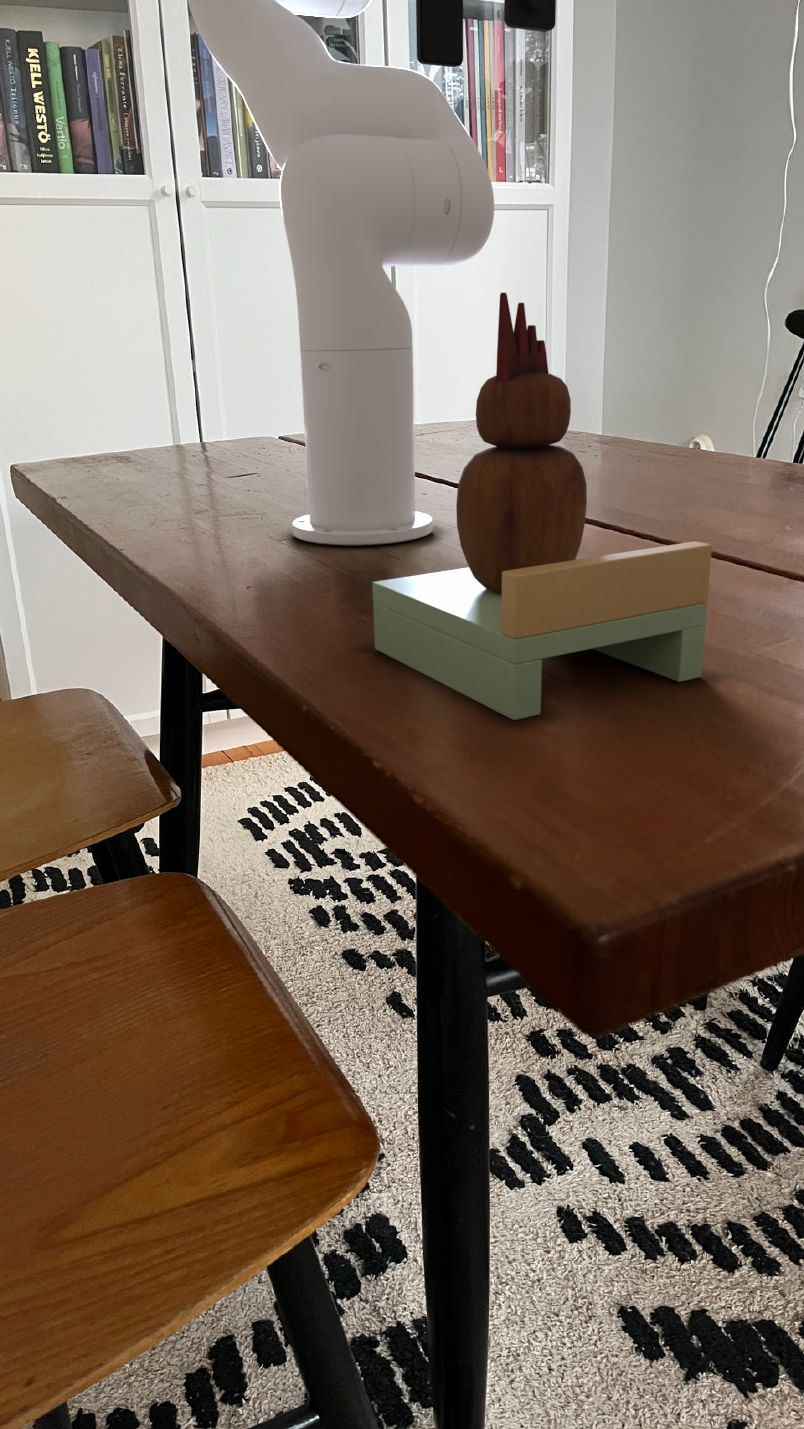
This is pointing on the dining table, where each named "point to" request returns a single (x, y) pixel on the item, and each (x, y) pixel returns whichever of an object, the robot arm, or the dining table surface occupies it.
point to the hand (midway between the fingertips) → (482, 47)
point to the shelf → (547, 621)
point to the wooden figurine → (520, 464)
